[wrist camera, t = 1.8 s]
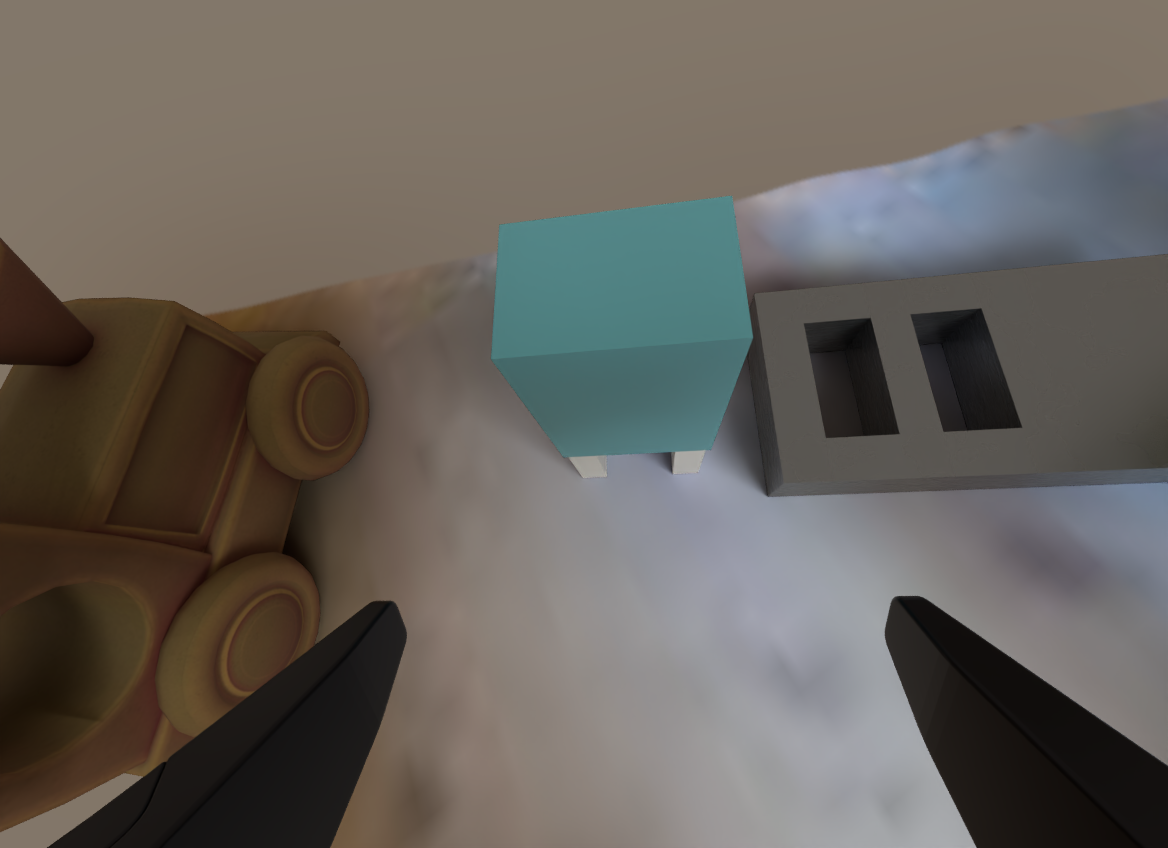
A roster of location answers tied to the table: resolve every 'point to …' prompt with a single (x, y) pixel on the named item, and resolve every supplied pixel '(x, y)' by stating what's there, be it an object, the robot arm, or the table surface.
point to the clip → (624, 328)
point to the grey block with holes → (971, 380)
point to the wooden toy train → (148, 526)
